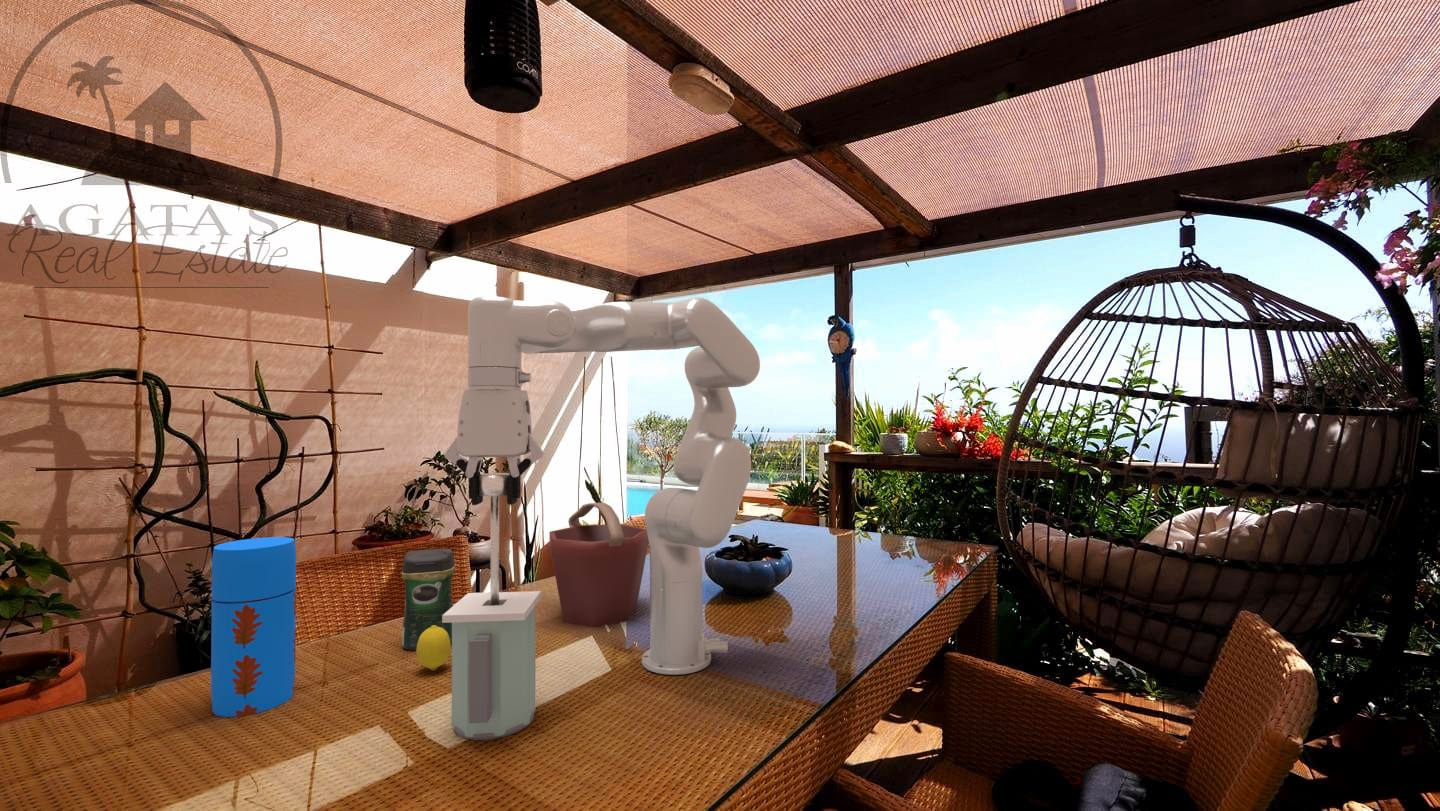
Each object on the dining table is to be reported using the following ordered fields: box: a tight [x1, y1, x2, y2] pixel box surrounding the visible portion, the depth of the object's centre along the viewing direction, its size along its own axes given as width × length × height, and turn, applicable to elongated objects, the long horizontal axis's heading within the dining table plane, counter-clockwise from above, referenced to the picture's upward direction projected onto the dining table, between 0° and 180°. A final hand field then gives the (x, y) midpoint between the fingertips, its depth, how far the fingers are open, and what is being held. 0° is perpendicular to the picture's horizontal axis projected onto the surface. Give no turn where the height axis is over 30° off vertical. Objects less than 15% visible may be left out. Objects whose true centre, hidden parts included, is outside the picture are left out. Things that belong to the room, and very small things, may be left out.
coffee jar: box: [401, 548, 456, 650], centre depth 126 cm, size 10×8×19 cm
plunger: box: [479, 472, 510, 606], centre depth 94 cm, size 8×8×24 cm
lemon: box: [415, 625, 452, 672], centre depth 112 cm, size 6×6×8 cm
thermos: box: [210, 536, 297, 718], centre depth 101 cm, size 11×11×25 cm
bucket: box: [548, 502, 649, 628], centre depth 144 cm, size 24×22×25 cm
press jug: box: [442, 590, 542, 741], centre depth 93 cm, size 14×11×17 cm
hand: (494, 502), depth 94 cm, fingers closed on plunger, 4 cm apart
